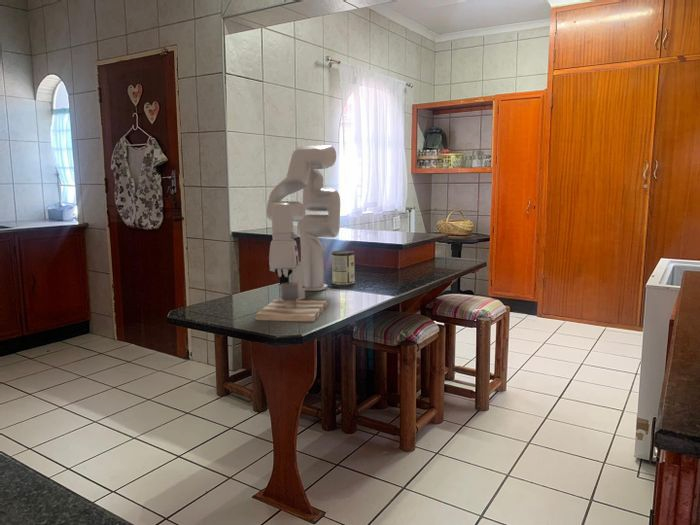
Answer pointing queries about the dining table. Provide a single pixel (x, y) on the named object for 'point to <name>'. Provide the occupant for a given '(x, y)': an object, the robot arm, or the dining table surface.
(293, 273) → the skincare box
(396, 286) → the dining table surface
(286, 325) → the dining table surface
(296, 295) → the grey orange long piece
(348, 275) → the coffee can
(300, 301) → the base
